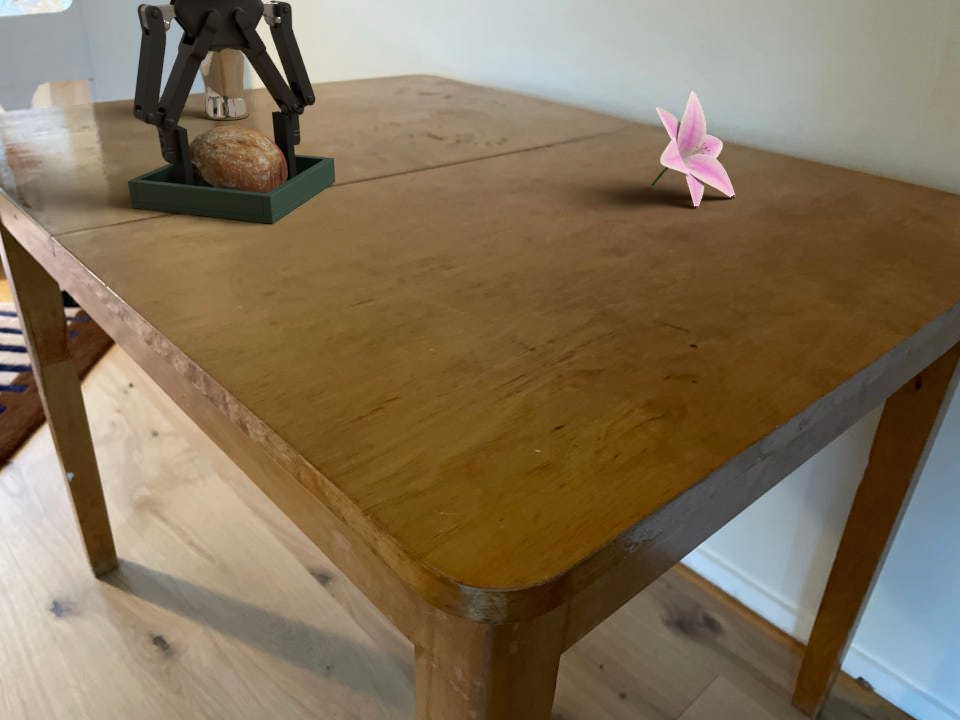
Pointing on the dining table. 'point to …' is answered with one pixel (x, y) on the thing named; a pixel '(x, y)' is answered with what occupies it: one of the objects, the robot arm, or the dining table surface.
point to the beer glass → (224, 85)
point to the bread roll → (237, 160)
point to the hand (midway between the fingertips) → (239, 186)
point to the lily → (693, 151)
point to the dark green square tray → (232, 193)
